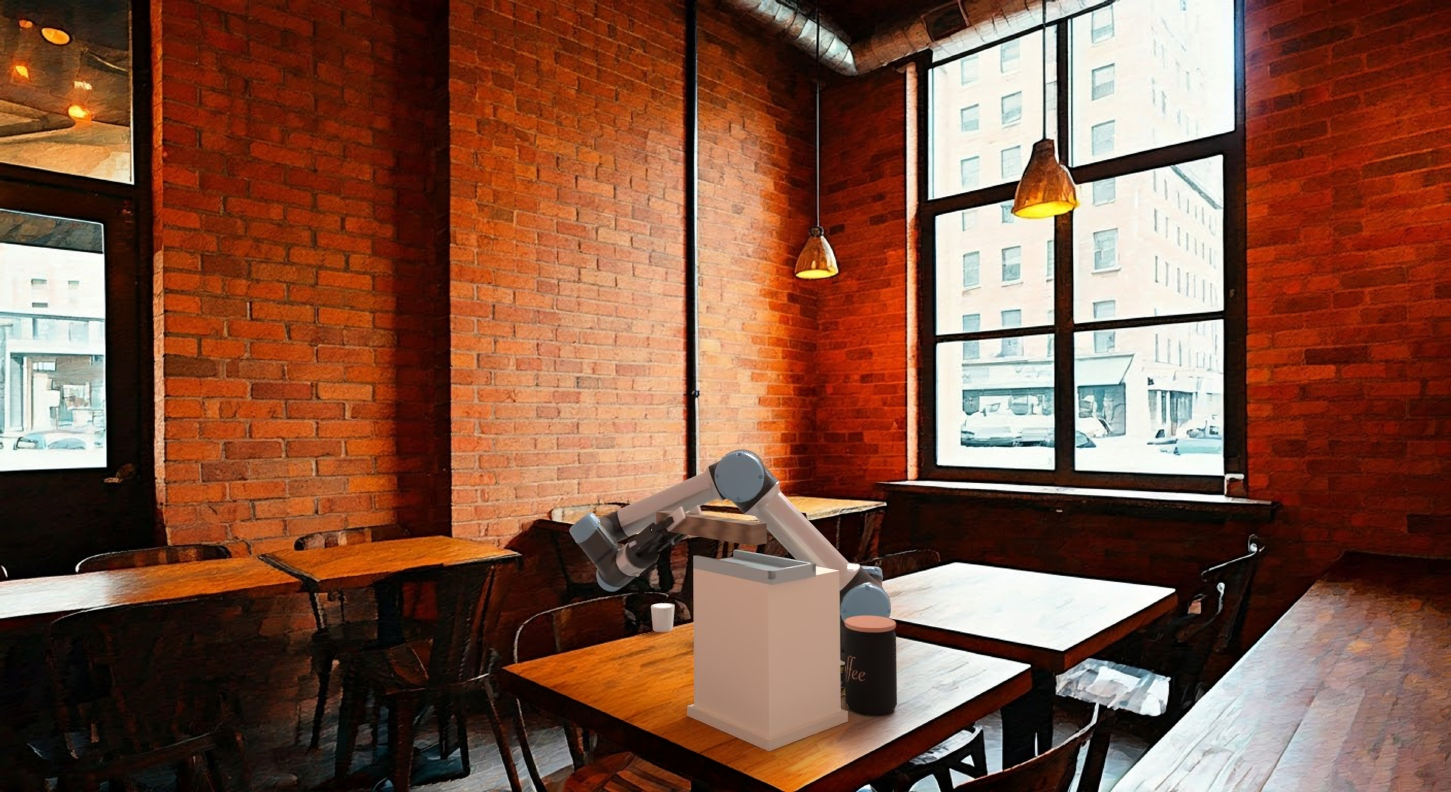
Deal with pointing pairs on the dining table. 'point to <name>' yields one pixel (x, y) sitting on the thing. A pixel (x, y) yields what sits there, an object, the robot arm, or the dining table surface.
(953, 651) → the dining table surface
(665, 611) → the white cup
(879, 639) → the coffee jar
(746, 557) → the tray
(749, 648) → the plinth
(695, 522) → the walnut bar
